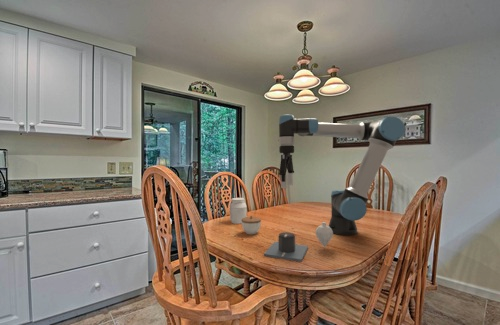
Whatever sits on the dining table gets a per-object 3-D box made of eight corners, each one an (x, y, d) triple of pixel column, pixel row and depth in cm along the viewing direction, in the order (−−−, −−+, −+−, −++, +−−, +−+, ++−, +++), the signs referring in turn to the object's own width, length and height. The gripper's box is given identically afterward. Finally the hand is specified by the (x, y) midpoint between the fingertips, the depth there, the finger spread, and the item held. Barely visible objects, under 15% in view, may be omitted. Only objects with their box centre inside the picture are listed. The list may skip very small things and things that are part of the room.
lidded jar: (265, 232, 136) (264, 215, 135) (252, 237, 128) (251, 219, 128) (250, 228, 143) (250, 212, 143) (237, 233, 135) (237, 216, 135)
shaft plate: (308, 247, 112) (307, 234, 111) (301, 261, 97) (301, 247, 97) (274, 243, 118) (274, 231, 118) (263, 256, 103) (263, 242, 103)
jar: (247, 223, 155) (247, 199, 155) (233, 224, 152) (232, 200, 152) (243, 218, 166) (242, 197, 166) (229, 220, 163) (229, 197, 163)
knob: (281, 246, 112) (281, 230, 111) (296, 247, 109) (296, 232, 109) (277, 251, 105) (277, 235, 105) (292, 253, 103) (292, 237, 103)
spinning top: (323, 252, 106) (323, 225, 106) (312, 246, 113) (311, 221, 113) (336, 249, 109) (336, 223, 109) (325, 244, 116) (325, 219, 116)
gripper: (285, 146, 137) (285, 183, 138) (272, 144, 114) (273, 189, 115) (298, 146, 135) (299, 184, 135) (288, 144, 111) (288, 190, 112)
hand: (287, 186), depth 125 cm, fingers open, 13 cm apart
